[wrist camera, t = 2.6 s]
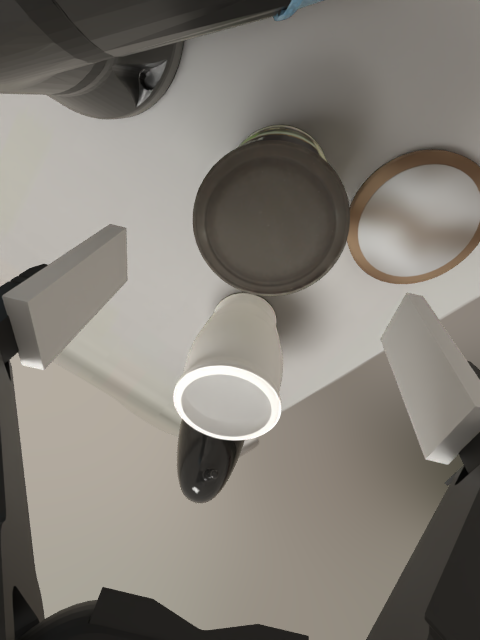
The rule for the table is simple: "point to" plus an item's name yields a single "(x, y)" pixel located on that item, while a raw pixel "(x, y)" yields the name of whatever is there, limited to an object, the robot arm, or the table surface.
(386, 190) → the thin brown ring
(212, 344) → the jar
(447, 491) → the robot arm
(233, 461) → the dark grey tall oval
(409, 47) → the table surface
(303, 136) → the coffee can
